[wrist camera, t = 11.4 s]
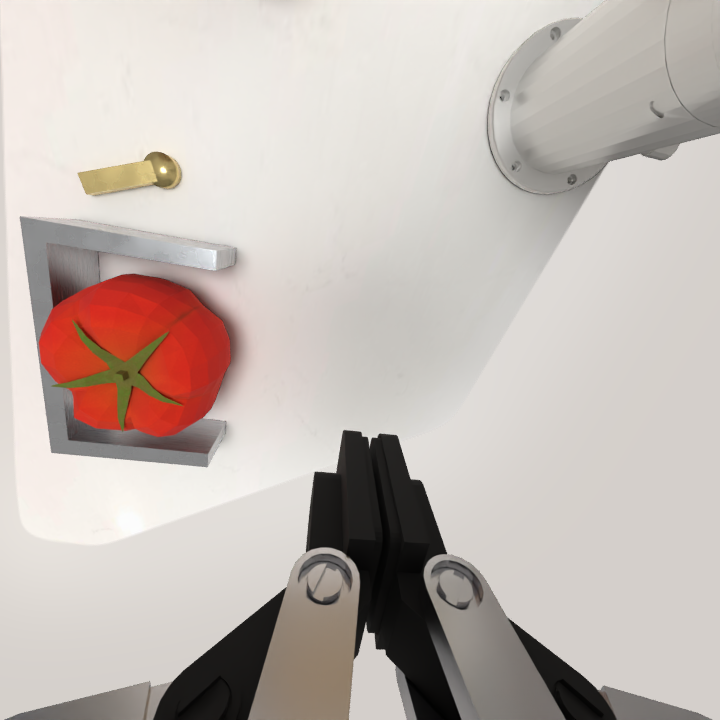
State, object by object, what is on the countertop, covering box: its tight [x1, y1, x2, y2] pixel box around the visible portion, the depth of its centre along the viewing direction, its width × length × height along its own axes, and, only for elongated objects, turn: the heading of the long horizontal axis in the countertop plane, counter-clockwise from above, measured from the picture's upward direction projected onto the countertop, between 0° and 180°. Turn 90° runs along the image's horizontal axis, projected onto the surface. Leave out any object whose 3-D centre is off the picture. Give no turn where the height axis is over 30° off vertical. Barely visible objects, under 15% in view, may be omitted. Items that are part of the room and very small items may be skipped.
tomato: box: [39, 274, 231, 437], centre depth 30 cm, size 14×13×10 cm
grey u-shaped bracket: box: [20, 216, 236, 467], centre depth 32 cm, size 14×20×6 cm
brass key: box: [78, 152, 181, 195], centre depth 29 cm, size 8×3×1 cm, turn 100°
